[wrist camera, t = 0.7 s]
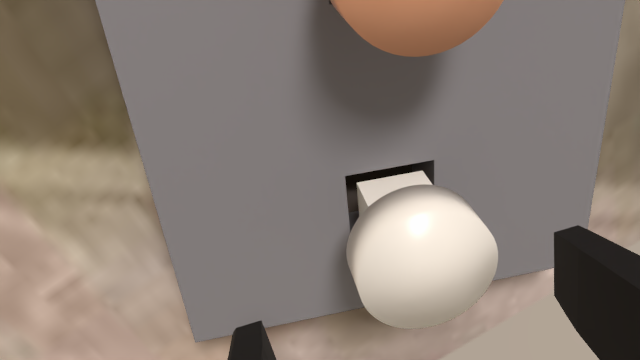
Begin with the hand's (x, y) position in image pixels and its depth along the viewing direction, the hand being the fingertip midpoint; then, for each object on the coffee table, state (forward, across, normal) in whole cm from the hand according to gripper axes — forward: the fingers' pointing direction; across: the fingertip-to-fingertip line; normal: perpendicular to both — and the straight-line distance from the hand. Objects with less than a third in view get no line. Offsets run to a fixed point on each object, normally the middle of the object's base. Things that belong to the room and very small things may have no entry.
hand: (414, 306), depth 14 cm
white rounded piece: (+7, -1, +2) cm, 7 cm away
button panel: (+10, -2, -2) cm, 10 cm away
